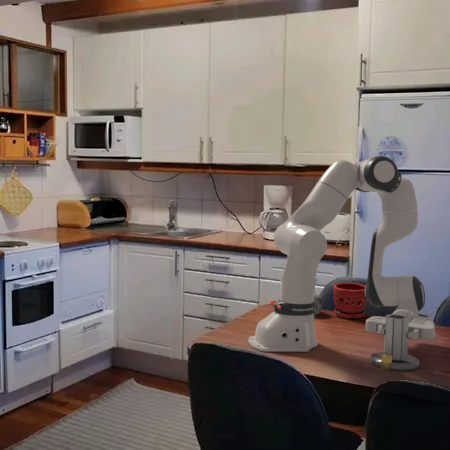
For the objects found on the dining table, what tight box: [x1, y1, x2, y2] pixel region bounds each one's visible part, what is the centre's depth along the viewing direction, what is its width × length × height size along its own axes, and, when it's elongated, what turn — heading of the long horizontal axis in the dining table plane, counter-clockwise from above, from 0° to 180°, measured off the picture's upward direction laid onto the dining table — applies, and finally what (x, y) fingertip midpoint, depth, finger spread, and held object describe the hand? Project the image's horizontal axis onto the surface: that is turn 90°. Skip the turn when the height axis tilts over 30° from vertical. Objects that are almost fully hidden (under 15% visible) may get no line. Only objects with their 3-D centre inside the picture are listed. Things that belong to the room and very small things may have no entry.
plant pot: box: [332, 282, 368, 319], centre depth 231 cm, size 13×13×12 cm
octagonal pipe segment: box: [383, 313, 409, 360], centre depth 175 cm, size 6×6×12 cm
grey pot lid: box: [369, 351, 420, 372], centre depth 176 cm, size 14×14×5 cm
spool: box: [314, 293, 323, 316], centre depth 235 cm, size 14×10×10 cm
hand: (395, 334), depth 174 cm, fingers closed on octagonal pipe segment, 7 cm apart
